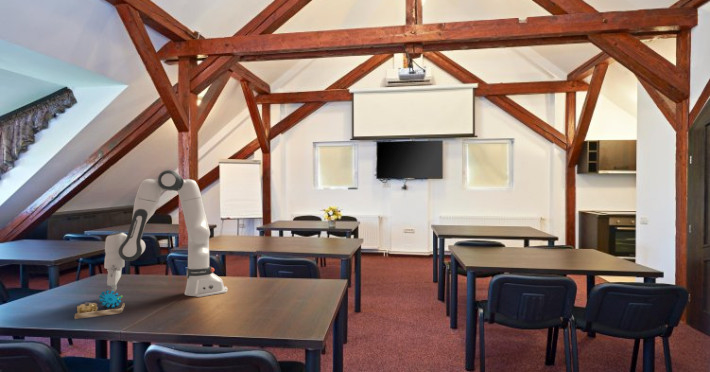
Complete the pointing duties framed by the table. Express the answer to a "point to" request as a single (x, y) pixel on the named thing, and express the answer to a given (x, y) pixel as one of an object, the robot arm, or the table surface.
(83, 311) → the gear
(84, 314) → the gear bench
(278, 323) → the table surface
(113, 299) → the gear
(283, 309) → the table surface
